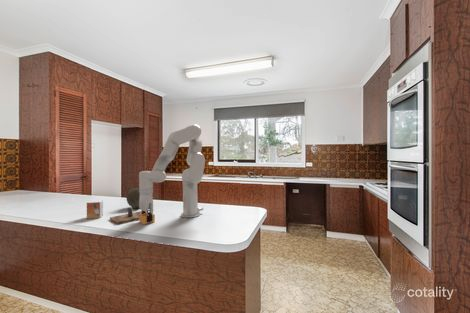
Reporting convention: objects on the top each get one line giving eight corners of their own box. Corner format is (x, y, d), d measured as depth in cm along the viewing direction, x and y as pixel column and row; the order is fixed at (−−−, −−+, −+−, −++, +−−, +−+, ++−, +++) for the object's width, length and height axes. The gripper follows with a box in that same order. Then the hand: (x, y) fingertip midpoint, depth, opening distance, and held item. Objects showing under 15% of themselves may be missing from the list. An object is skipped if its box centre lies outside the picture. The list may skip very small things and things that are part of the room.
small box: (86, 218, 143) (86, 202, 143) (90, 216, 149) (90, 200, 148) (100, 218, 145) (99, 202, 145) (103, 215, 150) (103, 200, 150)
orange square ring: (149, 219, 140) (149, 212, 140) (154, 221, 136) (154, 214, 136) (139, 221, 136) (139, 214, 136) (144, 224, 131) (143, 216, 131)
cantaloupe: (150, 206, 174) (149, 187, 173) (133, 211, 162) (133, 190, 161) (138, 204, 181) (138, 186, 181) (122, 208, 169) (121, 188, 169)
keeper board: (141, 213, 155) (141, 203, 155) (150, 217, 145) (150, 206, 145) (109, 219, 141) (109, 208, 141) (117, 224, 131) (117, 212, 131)
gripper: (134, 190, 139) (135, 219, 139) (146, 194, 127) (147, 225, 127) (146, 188, 144) (146, 216, 145) (158, 192, 132) (159, 222, 132)
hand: (147, 220), depth 136 cm, fingers closed on orange square ring, 6 cm apart
